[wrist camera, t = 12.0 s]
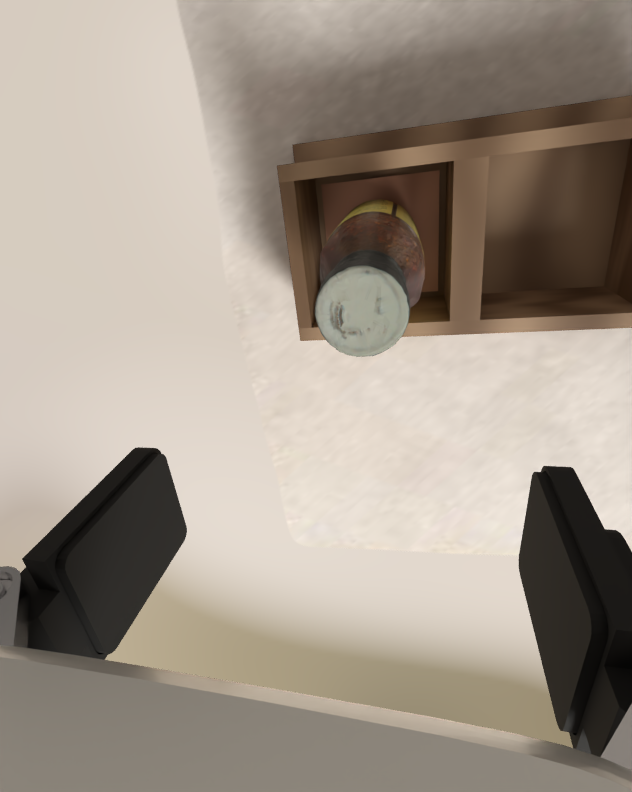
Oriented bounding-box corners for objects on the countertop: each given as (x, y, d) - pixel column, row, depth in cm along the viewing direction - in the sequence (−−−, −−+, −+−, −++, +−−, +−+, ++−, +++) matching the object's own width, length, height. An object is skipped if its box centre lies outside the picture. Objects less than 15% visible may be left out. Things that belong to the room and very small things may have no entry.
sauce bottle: (328, 257, 37) (253, 338, 20) (362, 182, 34) (307, 200, 16) (397, 292, 37) (383, 402, 20) (437, 221, 34) (461, 278, 17)
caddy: (656, 93, 29) (734, 69, 22) (613, 311, 36) (662, 348, 29) (296, 145, 35) (265, 140, 28) (317, 326, 41) (296, 359, 34)
